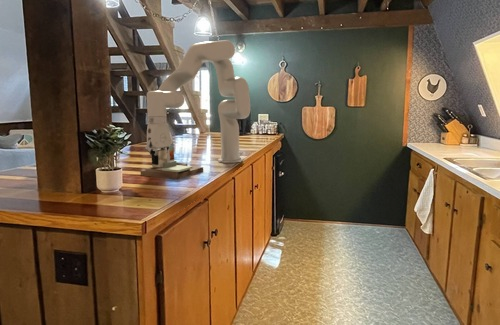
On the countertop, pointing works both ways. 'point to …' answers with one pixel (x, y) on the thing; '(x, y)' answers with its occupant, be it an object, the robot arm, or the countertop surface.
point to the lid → (174, 167)
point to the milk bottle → (170, 150)
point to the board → (170, 172)
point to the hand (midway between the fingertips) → (159, 163)
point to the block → (161, 157)
